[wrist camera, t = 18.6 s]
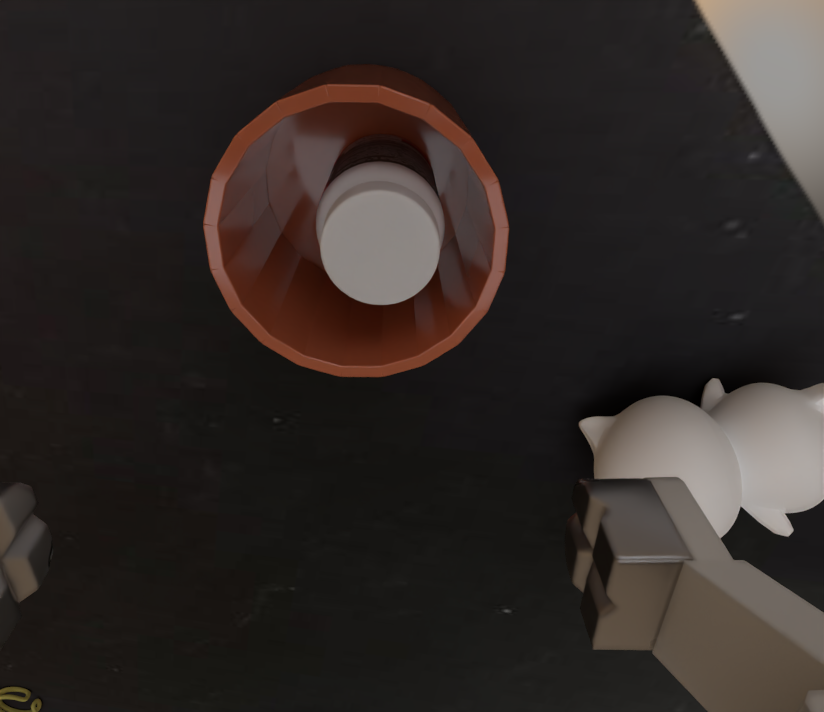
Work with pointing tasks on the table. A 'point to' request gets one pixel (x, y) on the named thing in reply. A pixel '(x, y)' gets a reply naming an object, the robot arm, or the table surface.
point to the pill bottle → (380, 221)
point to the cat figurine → (723, 449)
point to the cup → (297, 239)
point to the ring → (18, 689)
